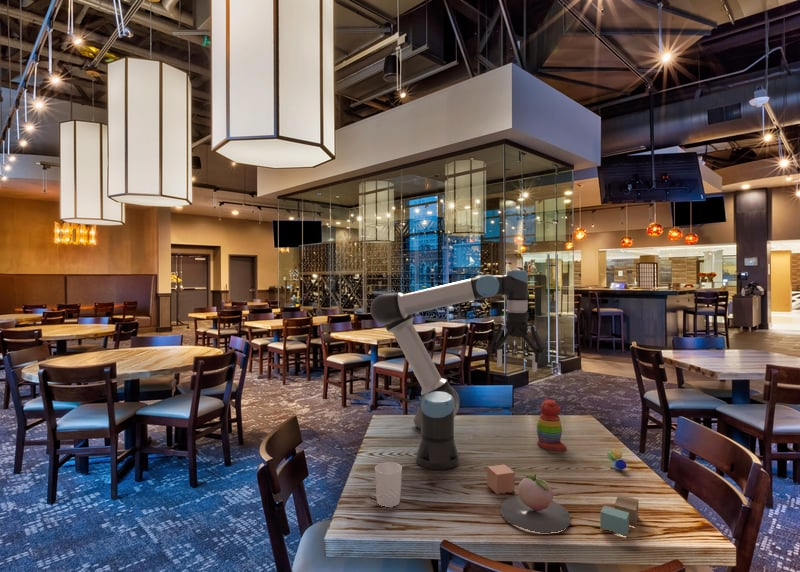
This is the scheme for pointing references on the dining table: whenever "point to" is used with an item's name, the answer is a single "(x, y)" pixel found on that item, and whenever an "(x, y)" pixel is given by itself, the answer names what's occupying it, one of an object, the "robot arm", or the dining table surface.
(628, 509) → the walnut block
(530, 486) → the decorative fruit
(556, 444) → the stacking bear
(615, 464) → the dice
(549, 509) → the slate plate
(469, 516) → the dining table surface
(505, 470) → the terracotta block
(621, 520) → the teal block
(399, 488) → the white cup
